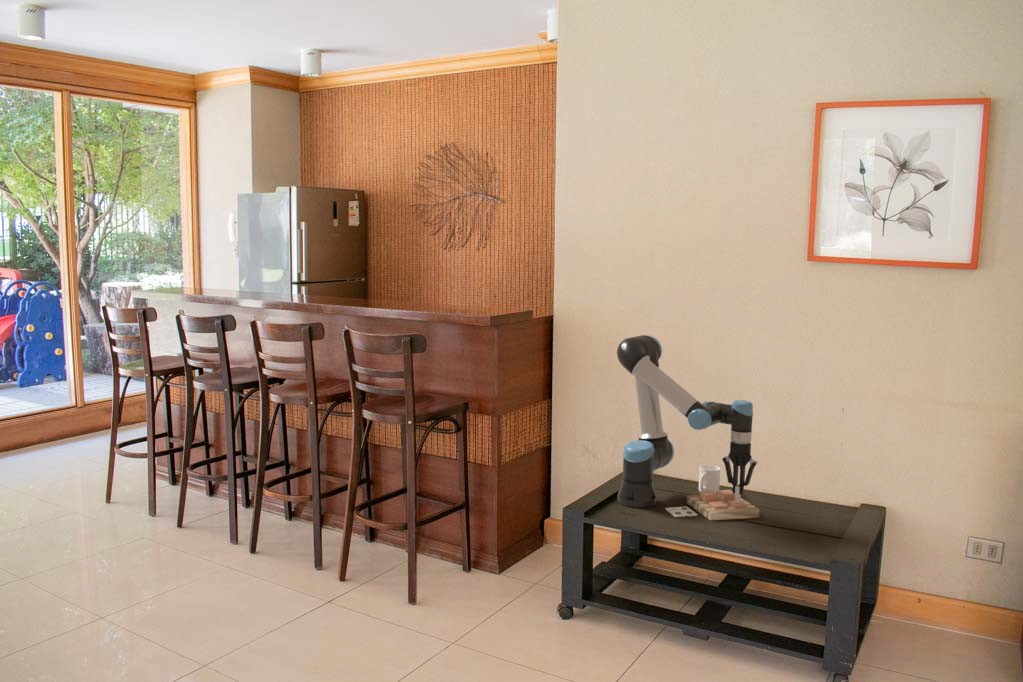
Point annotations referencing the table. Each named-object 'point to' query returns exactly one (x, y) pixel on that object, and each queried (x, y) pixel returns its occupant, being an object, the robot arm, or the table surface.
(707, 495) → the button
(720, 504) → the button
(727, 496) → the button
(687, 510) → the card
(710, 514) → the board
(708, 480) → the cup
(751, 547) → the table surface
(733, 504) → the button
